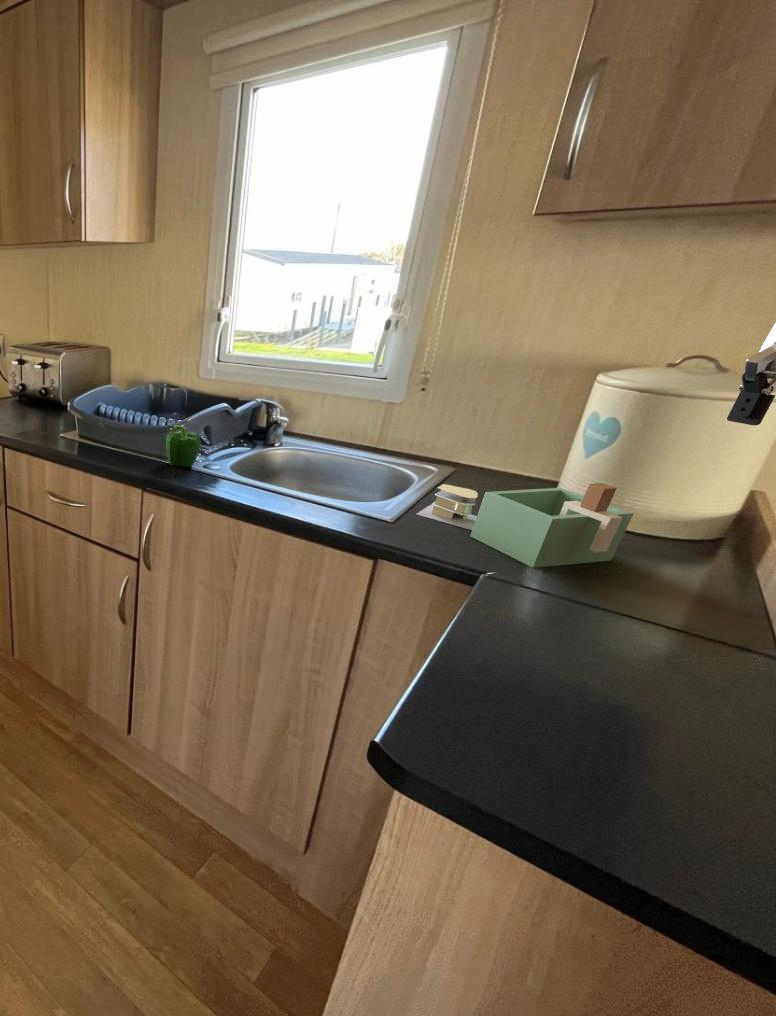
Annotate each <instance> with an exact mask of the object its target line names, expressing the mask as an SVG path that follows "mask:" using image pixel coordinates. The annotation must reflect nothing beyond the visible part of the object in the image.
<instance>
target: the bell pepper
mask: <svg viewBox="0 0 776 1016" xmlns="http://www.w3.org/2000/svg"><path fill="white" fill-rule="evenodd" d="M173 428H174V430H175V431H176V430H179V431H176V432H168V434H167V436H166V441H165V450H166V458H167V461H168V463H169V465H171V466H174V467H183V468H190V467H192V466H194V464H195V463H196V460H197V458H198V455H199V452H200V448H201V438H200V435H197V434H196V433H195V432H194V431H190V432H186V429H185V427H183V426H182V425H173Z"/></svg>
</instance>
